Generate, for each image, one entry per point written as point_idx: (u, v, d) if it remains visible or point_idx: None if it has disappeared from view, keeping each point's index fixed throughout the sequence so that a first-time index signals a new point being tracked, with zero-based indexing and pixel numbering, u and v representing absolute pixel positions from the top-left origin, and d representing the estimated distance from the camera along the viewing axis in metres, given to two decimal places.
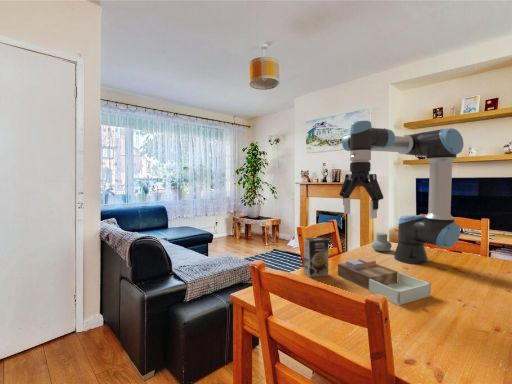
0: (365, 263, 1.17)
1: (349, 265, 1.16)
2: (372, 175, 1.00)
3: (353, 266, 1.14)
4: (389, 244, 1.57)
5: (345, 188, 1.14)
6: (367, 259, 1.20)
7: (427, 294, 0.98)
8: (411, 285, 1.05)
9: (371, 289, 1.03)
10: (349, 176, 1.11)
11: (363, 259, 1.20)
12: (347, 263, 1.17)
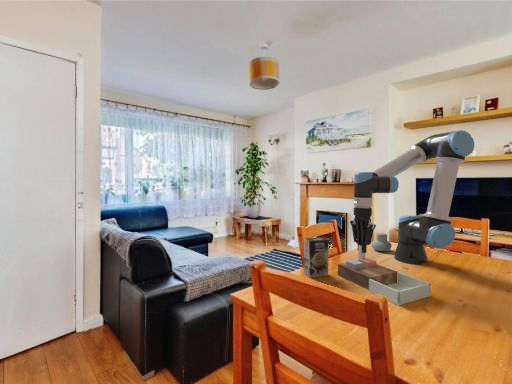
0: (365, 263, 1.17)
1: (349, 265, 1.16)
2: (372, 226, 1.15)
3: (353, 266, 1.14)
4: (389, 244, 1.57)
5: (356, 233, 1.24)
6: (367, 259, 1.20)
7: (427, 294, 0.98)
8: (411, 285, 1.05)
9: (371, 289, 1.03)
10: (353, 221, 1.25)
11: (363, 259, 1.20)
12: (347, 263, 1.17)
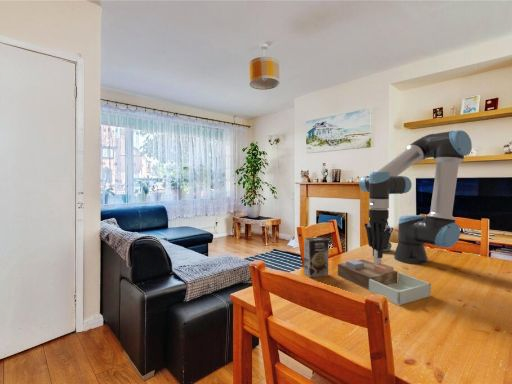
0: (382, 269, 1.09)
1: (349, 265, 1.16)
2: (389, 230, 1.07)
3: (353, 266, 1.14)
4: (389, 244, 1.57)
5: (371, 237, 1.16)
6: (384, 265, 1.12)
7: (427, 294, 0.98)
8: (411, 285, 1.05)
9: (371, 289, 1.03)
10: (368, 224, 1.17)
11: (379, 265, 1.12)
12: (347, 263, 1.17)
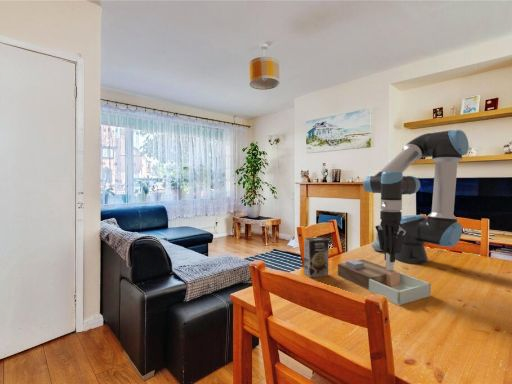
0: (389, 284, 1.06)
1: (349, 265, 1.16)
2: (403, 233, 1.02)
3: (353, 266, 1.14)
4: None
5: (382, 239, 1.11)
6: (396, 278, 1.07)
7: (427, 294, 0.98)
8: (411, 285, 1.05)
9: (371, 289, 1.03)
10: (379, 226, 1.12)
11: (393, 277, 1.06)
12: (347, 263, 1.17)
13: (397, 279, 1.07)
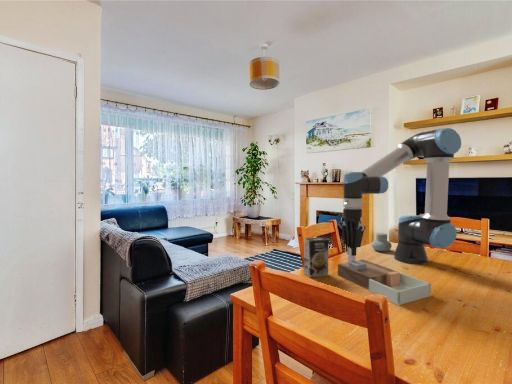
0: (389, 284, 1.06)
1: (351, 266, 1.15)
2: (361, 228, 1.11)
3: (355, 267, 1.13)
4: (389, 244, 1.57)
5: (346, 235, 1.20)
6: (396, 278, 1.07)
7: (427, 294, 0.98)
8: (411, 285, 1.05)
9: (371, 289, 1.03)
10: (343, 222, 1.21)
11: (393, 277, 1.06)
12: (349, 264, 1.16)
13: (397, 279, 1.07)
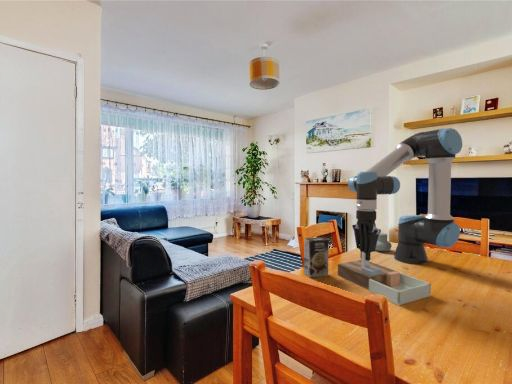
0: (389, 284, 1.06)
1: (365, 272, 1.08)
2: (376, 232, 1.04)
3: (370, 273, 1.06)
4: (389, 244, 1.57)
5: (358, 238, 1.13)
6: (396, 278, 1.07)
7: (427, 294, 0.98)
8: (411, 285, 1.05)
9: (371, 289, 1.03)
10: (356, 225, 1.14)
11: (393, 277, 1.06)
12: (363, 270, 1.09)
13: (397, 279, 1.07)
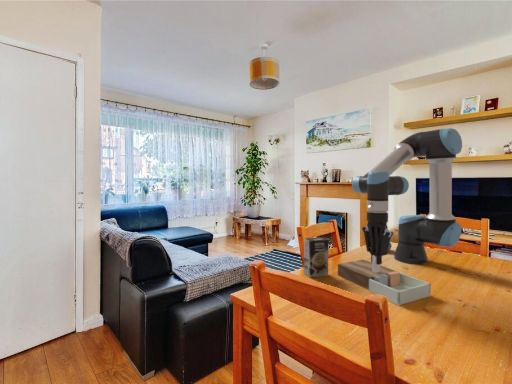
0: (389, 284, 1.06)
1: None
2: (389, 234, 0.99)
3: None
4: (389, 244, 1.57)
5: (369, 241, 1.08)
6: (396, 278, 1.07)
7: (427, 294, 0.98)
8: (411, 285, 1.05)
9: (371, 289, 1.03)
10: (366, 227, 1.09)
11: (393, 277, 1.06)
12: (376, 279, 1.03)
13: (397, 279, 1.07)
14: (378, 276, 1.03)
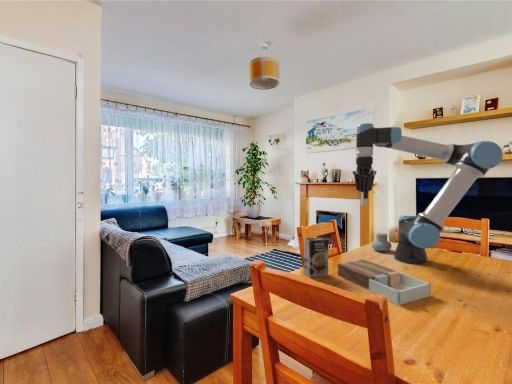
0: (389, 284, 1.06)
1: None
2: (373, 172, 1.26)
3: None
4: (389, 244, 1.57)
5: (358, 182, 1.35)
6: (396, 278, 1.07)
7: (427, 294, 0.98)
8: (411, 285, 1.05)
9: (371, 289, 1.03)
10: (356, 171, 1.36)
11: (393, 277, 1.06)
12: (376, 279, 1.03)
13: (397, 279, 1.07)
14: (378, 276, 1.03)
